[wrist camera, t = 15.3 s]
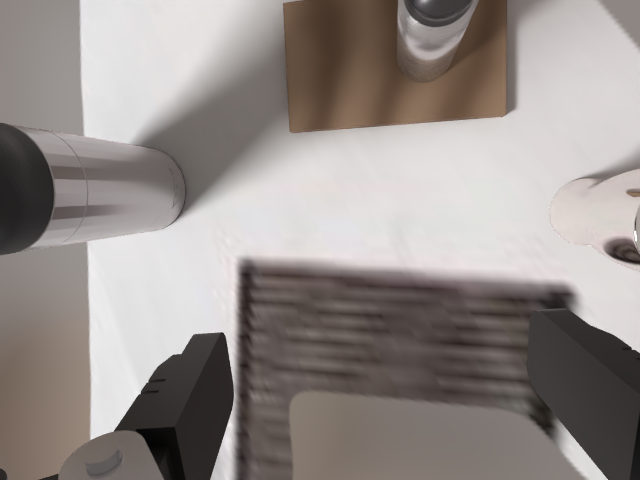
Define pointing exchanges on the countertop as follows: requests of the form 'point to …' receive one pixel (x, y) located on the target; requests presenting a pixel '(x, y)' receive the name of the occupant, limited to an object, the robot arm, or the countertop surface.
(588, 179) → the beer glass
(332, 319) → the countertop surface
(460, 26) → the pepper grinder
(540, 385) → the robot arm
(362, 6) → the walnut board
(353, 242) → the countertop surface
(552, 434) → the countertop surface
